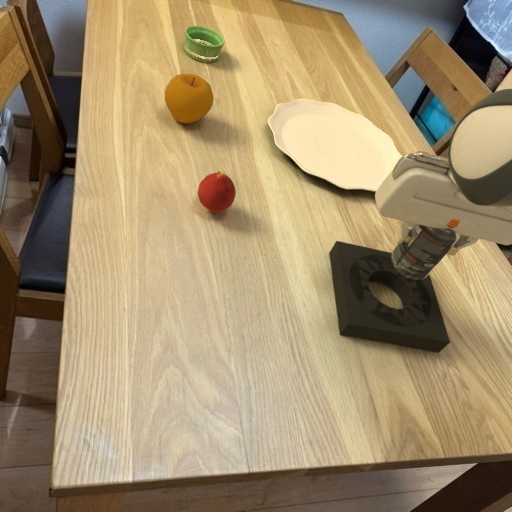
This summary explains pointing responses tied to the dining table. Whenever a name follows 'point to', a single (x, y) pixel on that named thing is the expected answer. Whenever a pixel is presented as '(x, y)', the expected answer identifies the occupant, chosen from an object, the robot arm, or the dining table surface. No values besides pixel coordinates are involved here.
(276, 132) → the plate
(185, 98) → the apple
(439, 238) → the pill bottle
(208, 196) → the onion
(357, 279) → the socket pad
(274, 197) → the dining table surface
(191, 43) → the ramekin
